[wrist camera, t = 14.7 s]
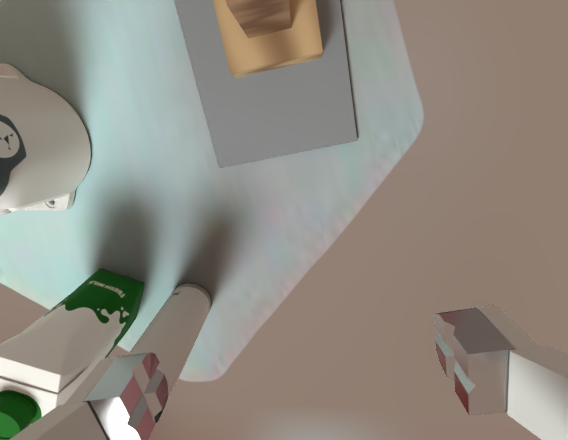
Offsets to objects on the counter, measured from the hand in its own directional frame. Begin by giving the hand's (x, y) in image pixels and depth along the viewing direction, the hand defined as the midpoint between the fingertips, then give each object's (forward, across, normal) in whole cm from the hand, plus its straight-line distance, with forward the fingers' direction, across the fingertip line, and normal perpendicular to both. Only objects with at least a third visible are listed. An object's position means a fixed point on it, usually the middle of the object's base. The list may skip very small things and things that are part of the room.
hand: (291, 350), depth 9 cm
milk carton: (+33, +31, +14) cm, 48 cm away
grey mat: (+33, +1, -12) cm, 35 cm away
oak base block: (+32, 0, -17) cm, 37 cm away
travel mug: (+33, +20, +17) cm, 42 cm away
